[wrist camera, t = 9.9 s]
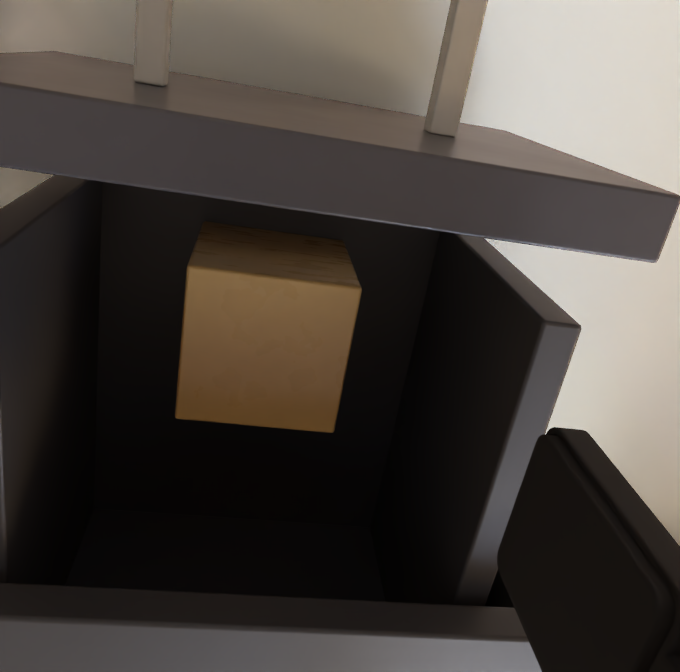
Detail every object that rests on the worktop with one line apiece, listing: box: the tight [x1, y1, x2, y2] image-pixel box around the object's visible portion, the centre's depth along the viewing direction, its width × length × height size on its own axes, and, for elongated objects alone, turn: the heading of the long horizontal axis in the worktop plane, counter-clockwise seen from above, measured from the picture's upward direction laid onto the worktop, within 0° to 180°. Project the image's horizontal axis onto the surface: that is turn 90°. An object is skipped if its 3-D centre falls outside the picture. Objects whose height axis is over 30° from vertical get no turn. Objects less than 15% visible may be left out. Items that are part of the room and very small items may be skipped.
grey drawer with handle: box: [0, 0, 680, 606], centre depth 16 cm, size 20×13×9 cm, turn 170°
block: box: [175, 221, 362, 433], centre depth 17 cm, size 4×4×4 cm
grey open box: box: [0, 570, 542, 672], centre depth 20 cm, size 16×14×11 cm
